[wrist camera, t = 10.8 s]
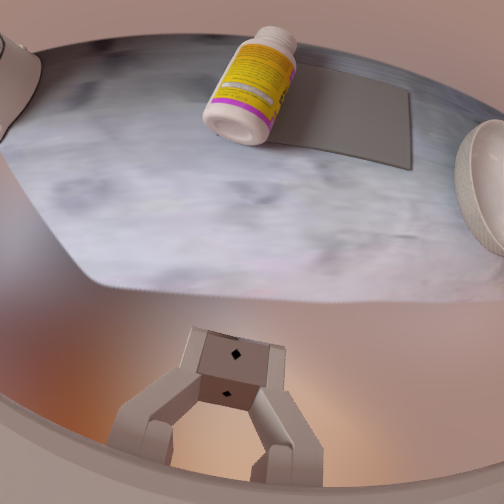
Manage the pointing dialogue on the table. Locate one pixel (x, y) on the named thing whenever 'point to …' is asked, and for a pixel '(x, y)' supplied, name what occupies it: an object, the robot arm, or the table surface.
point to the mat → (345, 116)
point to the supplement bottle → (253, 87)
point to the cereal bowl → (482, 183)
